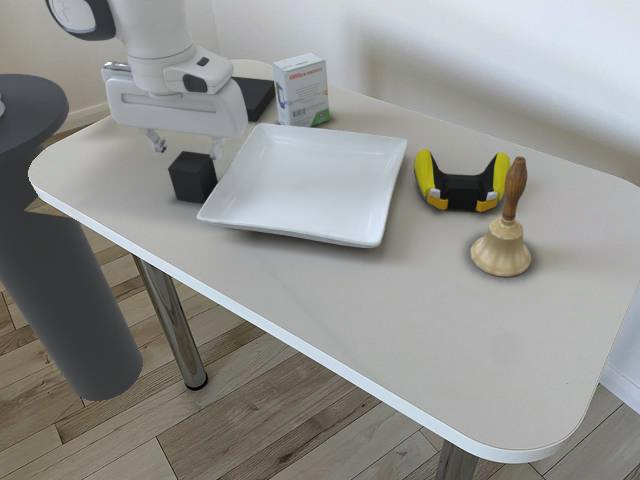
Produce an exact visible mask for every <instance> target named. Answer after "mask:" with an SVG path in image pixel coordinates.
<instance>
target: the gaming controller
mask: <svg viewBox="0 0 640 480" xmlns="http://www.w3.org/2000/svg"><path fill="white" fill-rule="evenodd" d="M511 165H512V163H511V160H510V157H509V155H508V153H503V152H501V151H499V152H497V153H496V154H495V155H494V157H492V159H491V160H490V161H489V162H488V164H487V166H486V167H485V169H484V170H483V171H482V172H481V173H479V174H457V173H456V174H455V173H446V172H444V171H442V170H440V169H439V166H438V164H437V162H436V160H435V158H434V156H433V154H432V152H431V151H430V149H428V148H424V149H421V150H419V151H418V152H417V154H416V155H415V158H414V165H413V173H414V177H415V182H416V185H417V188H418V190H419V193H420V195H421V197H422V198H423V200H424V201H426V203H427V204H429V205H431V206H433V207H435V208H437V209H439V210H442V211H444V210H452V211H453V210H456V211H474V212H476V211H477V212H479V213H482V212H485V211H488V210H490V209H493V208H496V207H497V205H500V203H501V202H502V200H503V198H504V196H505V191H504V185H505V178H506V175H507V172H508V170H509V168H510V167H511Z"/></svg>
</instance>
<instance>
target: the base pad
mask: <svg viewBox="0 0 640 480" xmlns="http://www.w3.org/2000/svg"><path fill="white" fill-rule="evenodd" d="M231 78H232V79H233V80H234V81H235V82H236V83H237V84H238V86H239V87H240V90H241V92H242V95H243V99H244V103H245V107H246V111H247V116H248V122H257V121H258V119H259V118H260V117H261V116H262V114H263V113H264V111H265V110H266V109H267V108H268V106H269V104H270V103H271V101H272V100H273V99H274V98H275V97H276V92H275V84H274V79H273V80H272V79H263V78H262V79H261V78H252V77H244V76H243V77H242V76H233V75H232V76H231Z"/></svg>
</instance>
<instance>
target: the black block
mask: <svg viewBox="0 0 640 480" xmlns="http://www.w3.org/2000/svg"><path fill="white" fill-rule="evenodd" d="M167 171H168V174H169V177H170V181H171V184H172V188H173V190H174V191H173V192H174V194H175V195H174V196H175V198H176V201H182V202H189V203H195V204H203V205H204V203H205V202H206V200H207V199H208V197H209V196H210V194H211V193H212V191H213V190H214V188H215V187H216V185H217V184H218V182H219V180H218V176H217V172H216V167H215V164H214V160H213V159H210V155H209V153H202V152H194V151H188V150H182V151H181V152H180V153H179V155H178V156H177V157H176V158H175V159H174V161H173V162H171V164H170V165H169V166H168V168H167Z"/></svg>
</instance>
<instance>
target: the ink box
mask: <svg viewBox="0 0 640 480" xmlns="http://www.w3.org/2000/svg"><path fill="white" fill-rule="evenodd" d="M271 66H272V67H271V68H272V76H273V81H274V84H275V92H276V94H275V98H276V108H277V109H276V110H277V118H278V123H279V125H287V126H299V127H310V128H312V127H314V126H317V125H320V124H322V123H326V122H329V121H330V105H329V104H330V103H329V91H328V89H329V87H328V73H327V60H326V59H324V58H323V57H322V56H320V55H318V54H317V53H315V52H307V53H304V54H300V55H297V56H293V57H289V58H286V59H282V60H278V61H277V60H276V61H274V62H272V63H271Z"/></svg>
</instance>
